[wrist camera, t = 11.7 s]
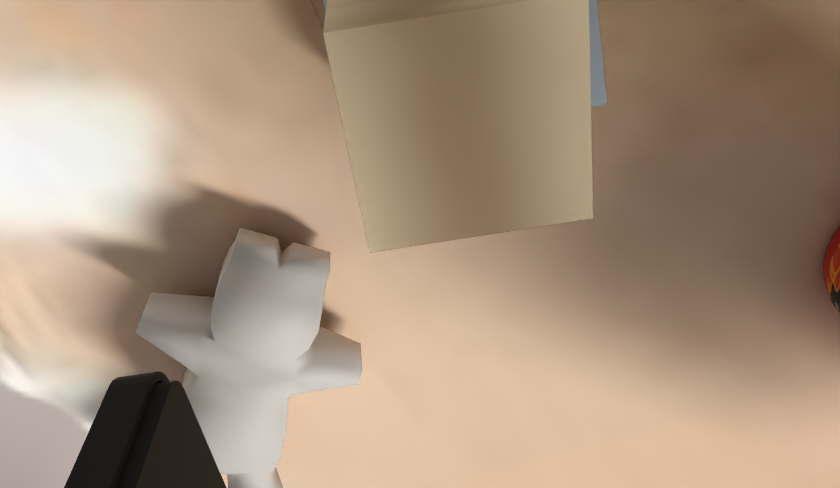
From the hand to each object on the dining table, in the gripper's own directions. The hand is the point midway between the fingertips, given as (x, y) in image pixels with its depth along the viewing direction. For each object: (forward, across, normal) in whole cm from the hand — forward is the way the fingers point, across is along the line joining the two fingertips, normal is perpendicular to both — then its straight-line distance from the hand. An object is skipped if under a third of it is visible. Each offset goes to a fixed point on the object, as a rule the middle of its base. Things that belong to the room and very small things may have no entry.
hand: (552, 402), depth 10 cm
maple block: (+13, 0, -1) cm, 13 cm away
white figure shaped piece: (+21, +12, +15) cm, 29 cm away
